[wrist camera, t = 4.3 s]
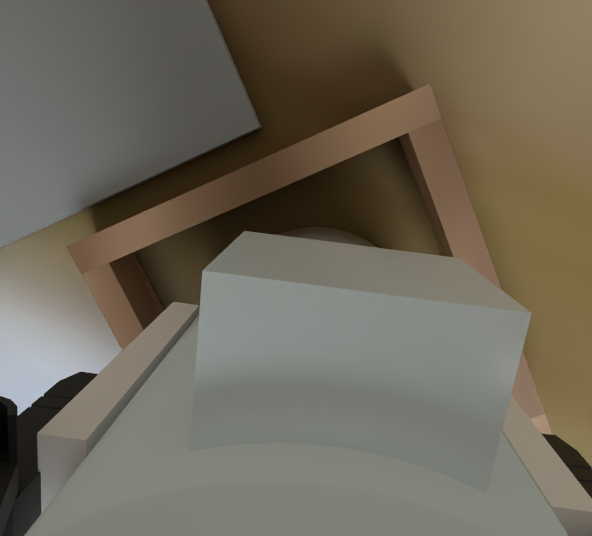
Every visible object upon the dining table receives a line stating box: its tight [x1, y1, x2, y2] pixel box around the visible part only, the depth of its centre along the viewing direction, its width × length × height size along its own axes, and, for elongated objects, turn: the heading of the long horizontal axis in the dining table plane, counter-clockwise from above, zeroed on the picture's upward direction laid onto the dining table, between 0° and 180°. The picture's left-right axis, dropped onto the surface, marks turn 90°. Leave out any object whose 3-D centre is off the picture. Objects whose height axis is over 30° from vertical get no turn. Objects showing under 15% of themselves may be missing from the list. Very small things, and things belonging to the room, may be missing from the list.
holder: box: [67, 84, 552, 435], centre depth 16 cm, size 12×12×2 cm
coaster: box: [0, 0, 262, 248], centre depth 15 cm, size 12×12×1 cm
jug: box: [24, 227, 568, 536], centre depth 11 cm, size 13×7×13 cm, turn 173°
